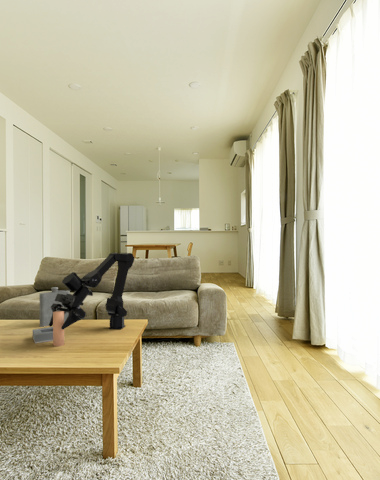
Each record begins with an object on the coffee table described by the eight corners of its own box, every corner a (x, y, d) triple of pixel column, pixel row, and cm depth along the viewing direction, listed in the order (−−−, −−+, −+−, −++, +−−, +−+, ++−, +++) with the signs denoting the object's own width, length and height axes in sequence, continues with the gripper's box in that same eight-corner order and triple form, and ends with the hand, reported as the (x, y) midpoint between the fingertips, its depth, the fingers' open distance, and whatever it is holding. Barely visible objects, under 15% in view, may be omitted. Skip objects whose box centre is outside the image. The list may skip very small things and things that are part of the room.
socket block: (59, 333, 151) (59, 326, 151) (63, 339, 142) (63, 331, 142) (32, 337, 145) (32, 329, 145) (34, 343, 136) (34, 335, 136)
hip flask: (40, 327, 164) (40, 289, 164) (38, 325, 167) (38, 288, 167) (70, 322, 175) (70, 286, 175) (68, 320, 178) (67, 285, 178)
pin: (66, 343, 135) (66, 310, 135) (60, 346, 131) (60, 312, 131) (57, 342, 136) (56, 310, 136) (50, 346, 131) (50, 312, 132)
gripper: (54, 285, 142) (30, 313, 133) (79, 287, 132) (55, 319, 122) (69, 300, 149) (48, 328, 139) (95, 303, 138) (73, 334, 129)
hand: (55, 327), depth 132 cm, fingers open, 9 cm apart
